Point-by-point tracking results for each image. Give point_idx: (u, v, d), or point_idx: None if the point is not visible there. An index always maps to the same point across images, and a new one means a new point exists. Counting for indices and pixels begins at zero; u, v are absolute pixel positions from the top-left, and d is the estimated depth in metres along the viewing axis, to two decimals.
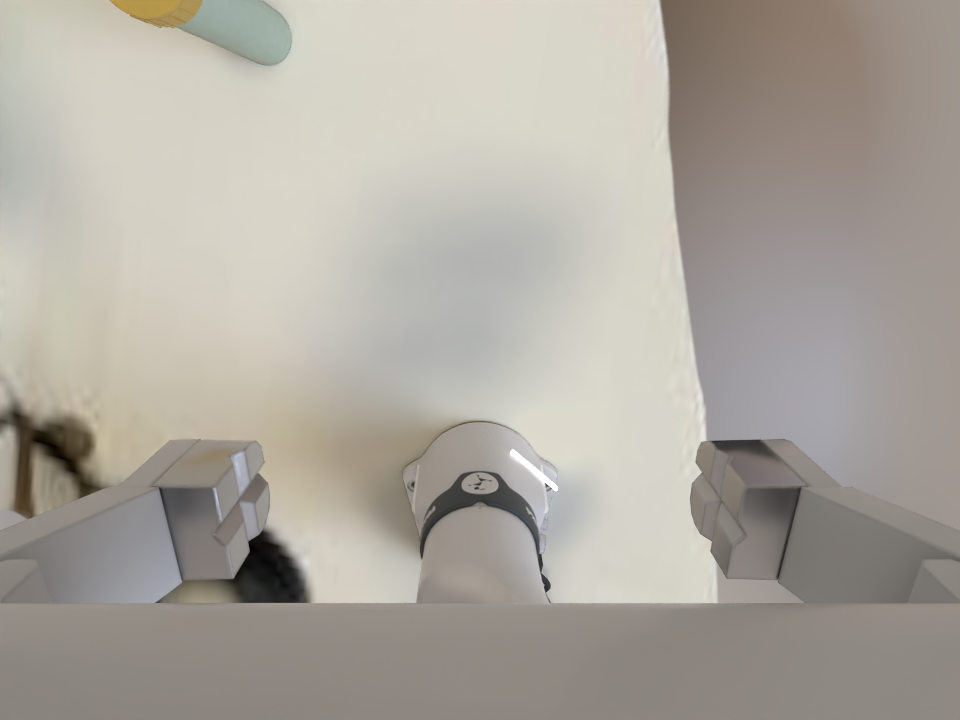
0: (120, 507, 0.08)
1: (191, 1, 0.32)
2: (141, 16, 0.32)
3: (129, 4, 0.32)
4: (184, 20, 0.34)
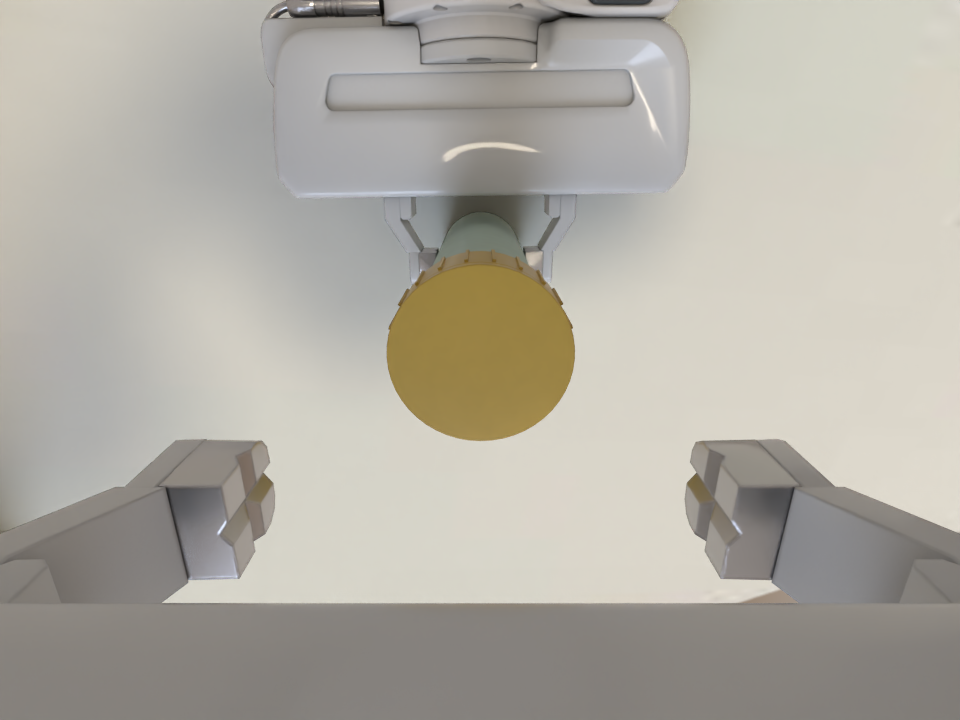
0: (127, 507, 0.08)
1: None
2: (389, 362, 0.16)
3: (405, 340, 0.16)
4: None
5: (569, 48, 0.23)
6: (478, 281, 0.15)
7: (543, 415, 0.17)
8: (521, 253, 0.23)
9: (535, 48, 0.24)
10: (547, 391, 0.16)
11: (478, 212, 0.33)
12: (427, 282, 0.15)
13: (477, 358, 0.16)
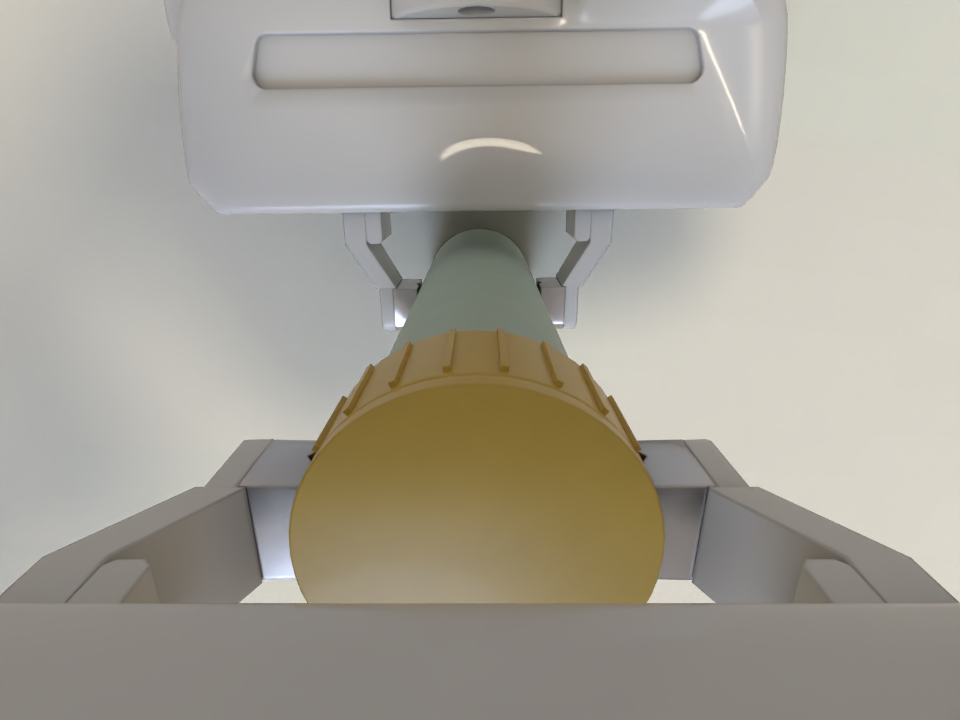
0: (211, 507, 0.08)
1: None
2: (294, 564, 0.08)
3: (324, 525, 0.08)
4: None
5: None
6: (471, 417, 0.07)
7: None
8: (539, 300, 0.16)
9: None
10: None
11: (476, 229, 0.25)
12: (364, 418, 0.07)
13: (470, 556, 0.08)
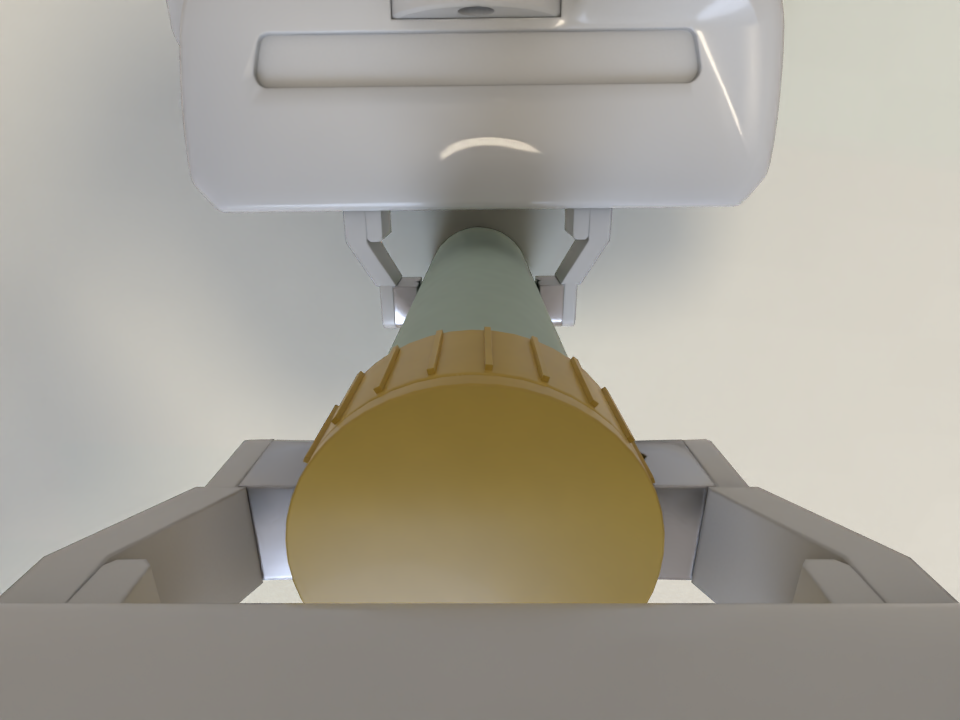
0: (212, 507, 0.08)
1: None
2: None
3: None
4: None
5: None
6: (321, 515, 0.08)
7: (652, 484, 0.08)
8: (538, 298, 0.16)
9: None
10: (599, 468, 0.07)
11: None
12: (299, 589, 0.08)
13: (472, 562, 0.08)
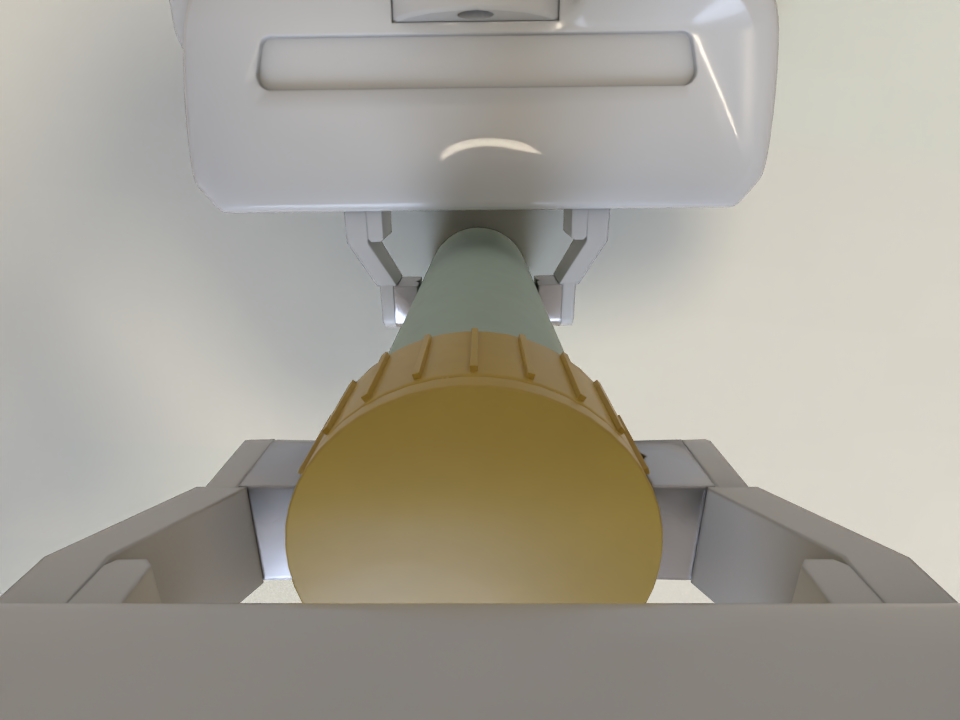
0: (212, 507, 0.08)
1: None
2: None
3: None
4: None
5: None
6: None
7: (458, 380, 0.07)
8: (536, 297, 0.16)
9: (557, 0, 0.17)
10: (412, 429, 0.07)
11: None
12: None
13: (478, 562, 0.08)
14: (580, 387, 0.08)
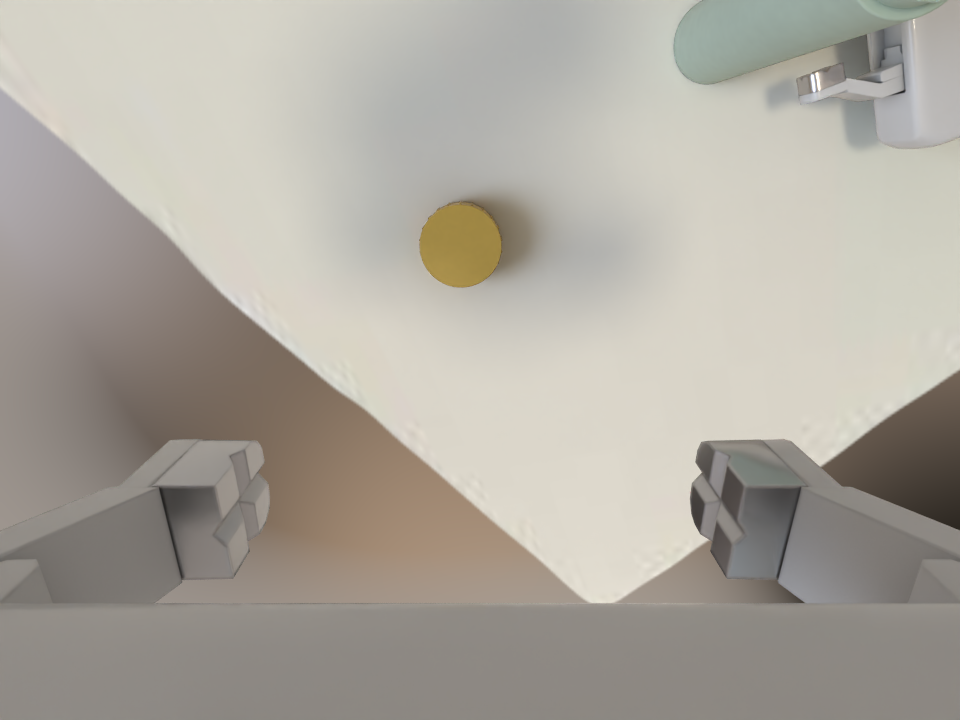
0: (120, 507, 0.08)
1: (498, 228, 0.37)
2: (491, 271, 0.37)
3: (479, 274, 0.37)
4: None
5: None
6: (439, 273, 0.37)
7: (457, 204, 0.35)
8: None
9: None
10: (447, 214, 0.35)
11: None
12: (455, 286, 0.37)
13: (461, 248, 0.36)
14: (483, 209, 0.36)
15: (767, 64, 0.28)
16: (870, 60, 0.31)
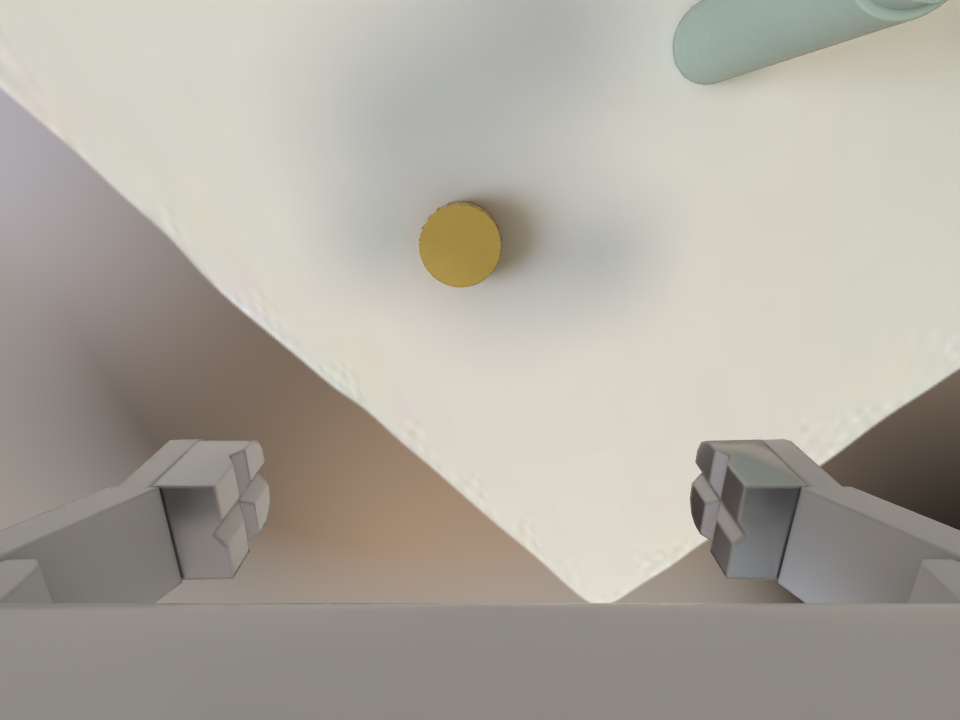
0: (120, 507, 0.08)
1: None
2: (491, 271, 0.37)
3: (479, 274, 0.37)
4: None
5: None
6: (439, 273, 0.37)
7: (456, 204, 0.35)
8: None
9: None
10: (447, 214, 0.35)
11: None
12: (455, 286, 0.37)
13: (461, 247, 0.36)
14: (482, 209, 0.36)
15: (766, 64, 0.28)
16: None
